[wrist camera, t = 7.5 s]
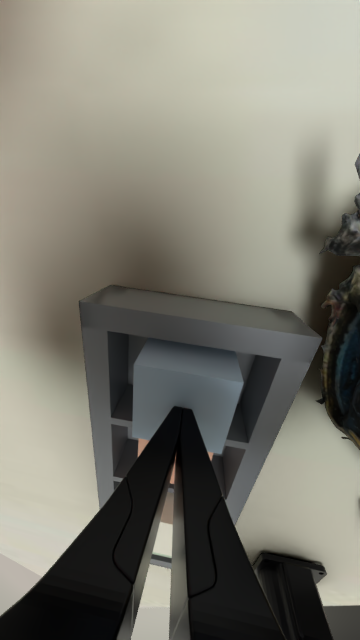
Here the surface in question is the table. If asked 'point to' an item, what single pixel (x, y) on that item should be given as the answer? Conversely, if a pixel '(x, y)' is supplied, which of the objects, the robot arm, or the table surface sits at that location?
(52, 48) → the table surface
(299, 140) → the table surface
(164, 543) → the key cream
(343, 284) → the pulley block
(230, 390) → the key blue
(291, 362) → the gray cubby shelf
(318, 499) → the table surface
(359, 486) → the table surface
